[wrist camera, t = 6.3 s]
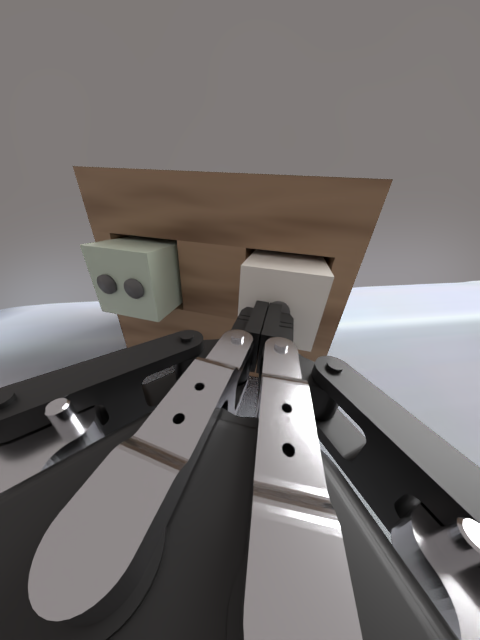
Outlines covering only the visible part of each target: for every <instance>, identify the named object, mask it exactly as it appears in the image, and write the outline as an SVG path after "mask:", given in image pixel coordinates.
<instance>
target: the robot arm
mask: <svg viewBox="0 0 480 640" xmlns="http://www.w3.org/2000/svg"><path fill="white" fill-rule="evenodd" d="M268 307H269V308H268ZM281 310H282V304H277V303H271V302H270V304H269V302H265V301H258V300H257V301H256V303H255V306H254V308H252V307H246V308H244V309H242V310H241V312H240V314H239V315H238V317H237V319H236V321H235V323H234V325H233V327H232V328H231V330H229V331H227V332H225V333H224V334H223V335H222V337H221V338H220V339H213V340H203V335H202V334H201V333H200V332H198V331H195V330H183V331H179V332H176V333H173V334H170V335H167V336H163V337H160V338H157V339H154V340H151V341H148V342H144V343H141V344H138V345H135V346H132V347H129V348H125V349H122V350H119V351H116V352H113V353H110V354H106V355H103V356H100V357H97V358H94V359H91V360H87V361H84V362H81V363H78V364H75V365H72V366H68V367H65V368H62V369H59V370H56V371H53V372H49V373H46V374H43V375H40V376H37V377H34V378H30V379H27V380H24V381H21V382H18V383H15V384H11V385H8V386H5V387H2V388H0V640H480V467H478V466H477V465H476V464H474V463H473V462H472V461H471V460H469V459H468V458H467V457H465V456H464V455H463V454H462V453H460V452H459V451H458V450H457V449H455V448H454V447H453V446H451V445H450V444H449V443H448V442H446V441H445V440H444V439H443V438H441V437H440V436H439V435H437V434H436V433H435V432H434V431H432V430H431V429H430V428H428V427H427V426H426V425H425V424H423V423H422V422H421V421H420V420H418V419H417V418H416V417H414V416H413V415H412V414H411V413H409V412H408V411H407V410H406V409H404V408H403V407H402V406H400V405H399V404H398V403H397V402H395V401H394V400H393V399H391V398H390V397H389V396H388V395H386V394H385V393H384V392H383V391H381V390H380V389H379V388H377V387H376V386H375V385H374V384H372V383H371V382H370V381H368V380H367V379H366V378H365V377H363V376H362V375H361V374H360V373H358V372H357V371H356V370H354V369H353V368H352V367H351V366H349V365H348V364H347V363H345V362H344V361H342V360H340V359H338V358H335V357H332V356H321V357H318V358H317V359H316V361H315V362H314V361H312V360H309V359H307V358H305V357H303V356H301V355H300V354H299V353H298V349H297V346H296V345H295V343H293V336H294V329H293V328H294V318H293V317H292V316H291V314H288V313H282V312H281ZM173 365H174V369H175V372H173V373H171V374H168V375H166V376H164V377H161V378H159V379H157V380H154V381H152V382H150V383H147V384H143V385H142V382H143V380H144V379H145V378H146V377H147V376H149V375H151V374H154V373H156V372H159V371H161V370H163V369H166V368H168V367H171V366H173ZM256 365H257V369H256ZM255 369H256V373H258V374H259V377H258V383H259V386H258V394H257V403H256V413H255V417H238V416H236V414H237V411H238V409H239V406H240V403H241V401H242V398H243V395H244V393H245V390H246V388H247V385H248V378H249V373H250V372H254V373H255ZM338 406H340V407H341V408H342V409H343V410H344V411H345V412H346V413H347V414H348V415H349V416H350V417H351V418H352V419H353V420H354V421H355V422H356V423H357V424H358V425H359V426H360V428H361V429H362V430H363V432H364V434H365V436H366V438H365V437H364V436H363V435H362V434H361V433H360V432H359V431H358V429H357V428H356V427H355V426H354V425H353V424H352V423H351V422H350V421H349V420H348V419H347V418H346V417H345V416H344V415H343V414H342V413H341V412H340V411H339V410H338V409H337V408H338ZM318 439H319V440H320V441H321V442H322V444H323V445H324V446H325V448H326V449H327V450H328V452H329V453H330V454H331V456H332V457H333V458H334V460H335V461H336V462H337V464H338V465H339V466H340V468H341V469H342V470H343V472H344V473H345V474H346V475H347V477H348V478H349V479H350V481H351V482H352V483H353V485H354V486H355V487H356V489H357V490H358V491H359V493H360V494H361V495H362V497H363V498H364V499H365V501H366V502H367V503H368V504H369V506H370V507H371V508H372V510H373V511H374V512H375V514H376V515H377V516H378V518H379V519H380V520H381V522H382V523H383V524H384V526H385V527H386V528H387V530H388V531H389V532H390V533H391V541H392V544H391V543H390V541H389V540H388V539H387V537H386V536H385V534H384V533H383V531H382V530H381V529H380V527H379V526H378V524H377V523H376V522H375V520H374V519H373V517H372V516H371V515H370V513H369V512H368V510H367V509H366V507H365V506H364V505H363V503H362V502H361V500H360V499H359V498H358V496H357V495H356V493H355V492H354V491H353V489H352V488H351V486H350V485H349V484H348V482H347V481H346V479H345V478H344V476H343V475H342V474H341V472H340V471H339V469H338V468H337V467H336V465H335V464H334V463H333V462H332V461H331V460H330V458H329V457H328V456H327V455H326V454H325V453H324V452H323V451H322V450H321V449H320V446H319V440H318Z"/></svg>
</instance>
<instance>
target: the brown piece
mask: <svg viewBox="0 0 480 640" xmlns="http://www.w3.org/2000/svg"><path fill="white" fill-rule="evenodd" d="M73 168H74V171H75V175H76V178H77V182H78V185H79V188H80V192H81V195H82V198H83V202H84V205H85V208H86V212H87V215H88V219H89V222H90V225H91V228H92V232H93V235H94V238H95V242H99V241H105V240H111V239H116V238H122V237H128V236H143V237H152V238H161V239H170V240H177V249H178V259H179V269H180V279H181V289H182V299H183V302H182V303H181V304H180V305H179V306H178V307H177V308H175V309H174V310H173V311H172V312H171V313H169V314H168V315H167V316H166V317H165V318H163V319H162V320H161V321H160V322H155V321H150V320H144V319H139V318H134V317H129V316H124V315H119V314H117V315H118V319H119V322H120V325H121V329H122V332H123V336H124V339H125V342H126V346H127V348H129V347H132V346H135V345H138V344H141V343H144V342H148V341H151V340H154V339H157V338H160V337H163V336H167V335H170V334H173V333H176V332H179V331H183V330H195V331H198V332H200V333H201V334H202V335H203V340H213V339H220V338H221V337H222V335H223V334H224V333H225V332H227V331H229V330H231V328H232V327H233V325H234V323H235V321H236V319H237V317H238V303H239V287H240V271H241V265H242V263H243V262H244V261H245V260H246V259H247V258H248V257H249V256H250V255H251V254H252V253H253V252H254V251H255V250H256V249H261V250H270V251H279V252H288V253H297V254H306V255H315V256H323V258H324V259H325V261H326V263H327V265H328V267H329V268H330V270H331V272H332V274H333V275H334V280H333V283H332V286H331V290H330V293H329V296H328V299H327V302H326V305H325V309H324V312H323V315H322V318H321V321H320V324H319V328H318V331H317V334H316V337H315V340H314V343H313V347H312V350H311V352H309V351H304V350H299V349H298V353H299V354H300V355H301V356H303V357H305V358H307V359H309V360H312V361H314V362H315V361H316V359H317V358H318V357H321V356H327V354H328V351H329V348H330V346H331V343H332V340H333V338H334V335H335V332H336V330H337V327H338V324H339V322H340V319H341V316H342V314H343V311H344V308H345V306H346V303H347V300H348V298H349V295H350V292H351V290H352V287H353V284H354V282H355V279H356V276H357V274H358V271H359V268H360V266H361V263H362V260H363V258H364V255H365V252H366V249H367V247H368V244H369V241H370V239H371V236H372V233H373V231H374V228H375V226H376V223H377V220H378V218H379V215H380V212H381V210H382V207H383V204H384V202H385V199H386V196H387V193H388V191H389V188H390V185H391V183H392V179H369V178H344V177H343V178H342V177H320V176H296V175H295V176H294V175H272V174H271V175H269V174H248V173H223V172H222V173H221V172H199V171H174V170H151V169H126V168H102V167H101V168H100V167H78V166H73ZM256 369H257V365H256ZM256 369H255V373H254V372H250V373H249V376H253V377H257V378H258V377H259V374H258V373H256Z"/></svg>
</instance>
